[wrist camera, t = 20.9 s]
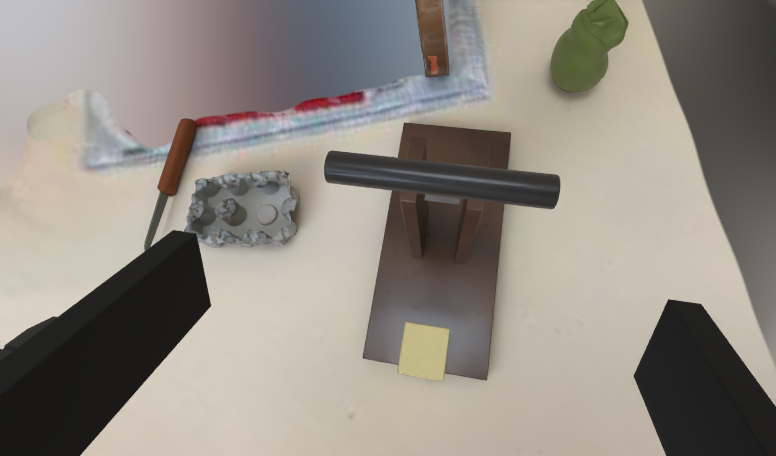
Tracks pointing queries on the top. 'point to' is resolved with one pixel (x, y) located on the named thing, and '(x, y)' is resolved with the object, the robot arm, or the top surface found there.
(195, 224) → the egg carton
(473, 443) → the top surface
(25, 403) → the robot arm
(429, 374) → the butter
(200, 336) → the top surface
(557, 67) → the pear
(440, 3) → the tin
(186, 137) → the kitchen knife
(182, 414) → the top surface
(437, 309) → the lever base
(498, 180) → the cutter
